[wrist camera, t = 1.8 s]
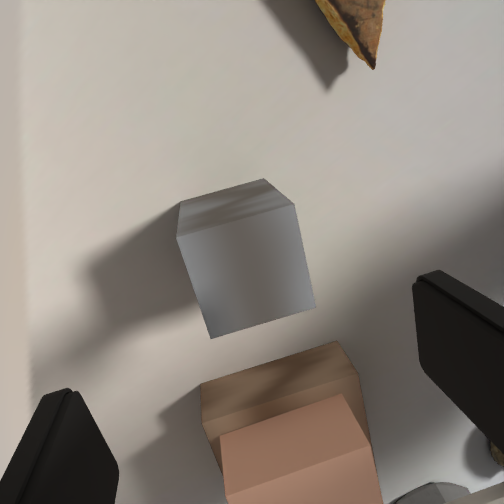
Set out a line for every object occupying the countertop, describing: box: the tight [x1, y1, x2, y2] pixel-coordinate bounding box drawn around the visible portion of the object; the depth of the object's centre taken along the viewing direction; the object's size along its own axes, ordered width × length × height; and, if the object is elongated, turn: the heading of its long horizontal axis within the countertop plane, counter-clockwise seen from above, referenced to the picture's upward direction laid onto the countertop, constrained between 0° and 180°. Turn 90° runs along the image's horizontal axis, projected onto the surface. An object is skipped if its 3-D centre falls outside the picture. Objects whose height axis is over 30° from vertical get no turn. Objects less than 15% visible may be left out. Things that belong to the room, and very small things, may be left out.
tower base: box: [200, 341, 379, 482], centre depth 27 cm, size 10×10×4 cm
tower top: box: [220, 393, 383, 504], centre depth 23 cm, size 8×8×4 cm
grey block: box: [176, 178, 316, 339], centre depth 19 cm, size 5×5×7 cm
